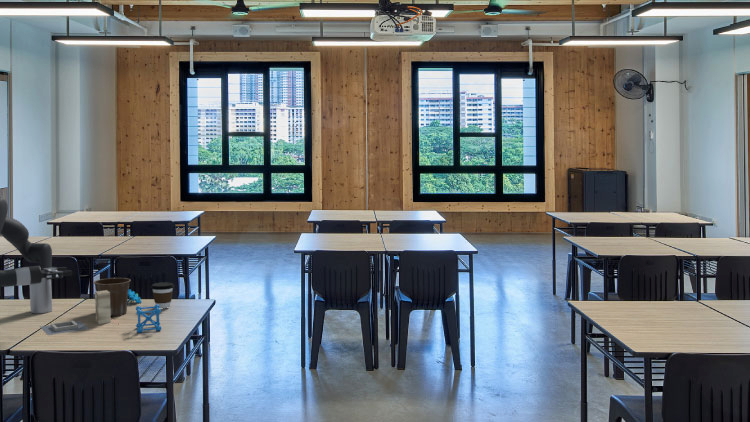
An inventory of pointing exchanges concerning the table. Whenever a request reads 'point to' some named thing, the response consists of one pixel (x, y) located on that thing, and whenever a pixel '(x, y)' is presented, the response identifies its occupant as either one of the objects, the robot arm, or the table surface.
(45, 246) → the robot arm
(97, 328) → the table surface
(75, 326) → the puzzle board
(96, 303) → the maple block
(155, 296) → the coffee cup
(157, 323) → the molecular structure
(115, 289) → the plant pot
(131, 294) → the gear
